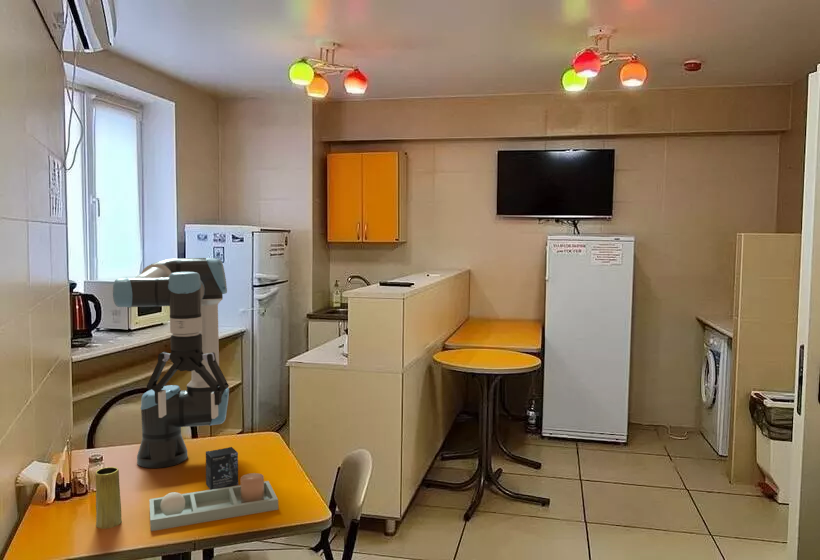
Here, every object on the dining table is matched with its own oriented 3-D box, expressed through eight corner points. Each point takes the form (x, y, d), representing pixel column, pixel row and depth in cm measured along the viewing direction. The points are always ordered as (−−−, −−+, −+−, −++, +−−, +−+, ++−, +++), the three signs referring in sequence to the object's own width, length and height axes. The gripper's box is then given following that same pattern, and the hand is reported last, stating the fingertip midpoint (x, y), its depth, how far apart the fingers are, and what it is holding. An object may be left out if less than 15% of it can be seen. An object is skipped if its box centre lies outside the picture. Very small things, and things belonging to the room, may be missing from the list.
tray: (149, 511, 169) (149, 499, 169) (268, 492, 181) (268, 480, 181) (150, 534, 157) (150, 520, 156) (278, 512, 169) (278, 499, 168)
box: (211, 493, 180) (210, 457, 180) (205, 487, 185) (204, 451, 184) (239, 487, 185) (238, 451, 184) (232, 481, 189) (231, 446, 189)
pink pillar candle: (239, 500, 174) (239, 475, 174) (261, 496, 176) (261, 471, 176) (242, 509, 169) (242, 483, 168) (266, 505, 171) (265, 479, 170)
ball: (160, 513, 166) (159, 490, 166) (184, 509, 169) (184, 486, 168) (161, 522, 161) (160, 499, 160) (186, 518, 163) (185, 495, 163)
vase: (96, 534, 157) (93, 477, 156) (95, 523, 162) (92, 468, 161) (123, 528, 160) (121, 472, 158) (121, 518, 165) (119, 464, 164)
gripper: (130, 335, 158) (133, 420, 160) (229, 337, 157) (231, 422, 158) (145, 330, 166) (147, 411, 167) (240, 331, 164) (241, 413, 166)
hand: (188, 416), depth 163 cm, fingers open, 13 cm apart
